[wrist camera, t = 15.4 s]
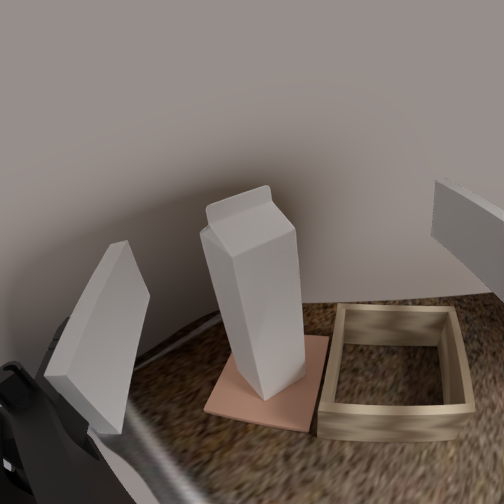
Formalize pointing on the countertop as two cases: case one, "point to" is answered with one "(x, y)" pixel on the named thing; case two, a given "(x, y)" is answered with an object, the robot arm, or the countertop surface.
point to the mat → (280, 405)
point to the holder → (398, 334)
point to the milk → (257, 288)
